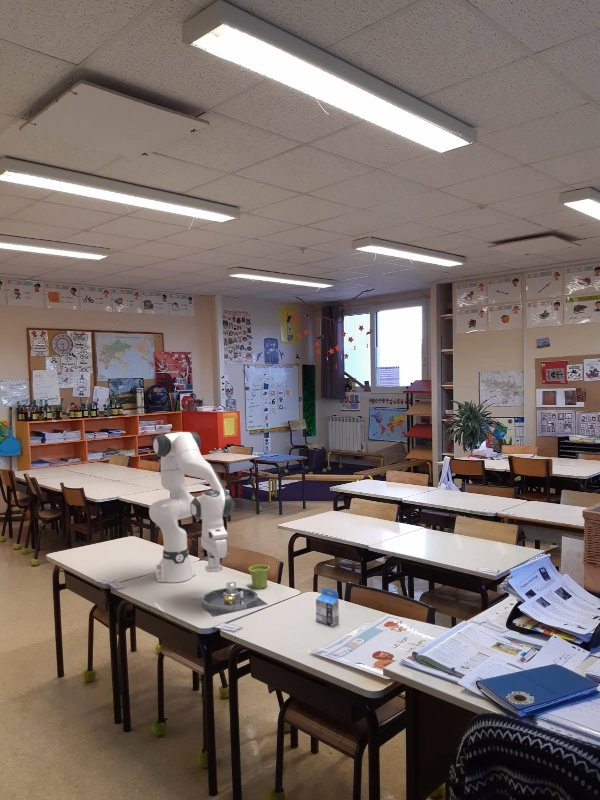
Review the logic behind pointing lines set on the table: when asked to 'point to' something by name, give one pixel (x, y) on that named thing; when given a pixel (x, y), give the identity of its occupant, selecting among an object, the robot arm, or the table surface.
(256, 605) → the carrier
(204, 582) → the table surface
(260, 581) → the plant pot
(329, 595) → the label tape box
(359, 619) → the table surface
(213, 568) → the planet gear
